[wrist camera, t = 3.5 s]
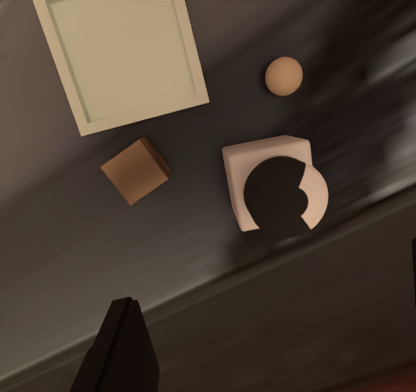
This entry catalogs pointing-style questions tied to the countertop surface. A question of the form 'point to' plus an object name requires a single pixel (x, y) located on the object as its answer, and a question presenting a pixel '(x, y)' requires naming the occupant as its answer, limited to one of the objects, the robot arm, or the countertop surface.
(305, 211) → the medicine bottle
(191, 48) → the tray
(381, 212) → the countertop surface
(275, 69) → the cork ball
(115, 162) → the walnut block
